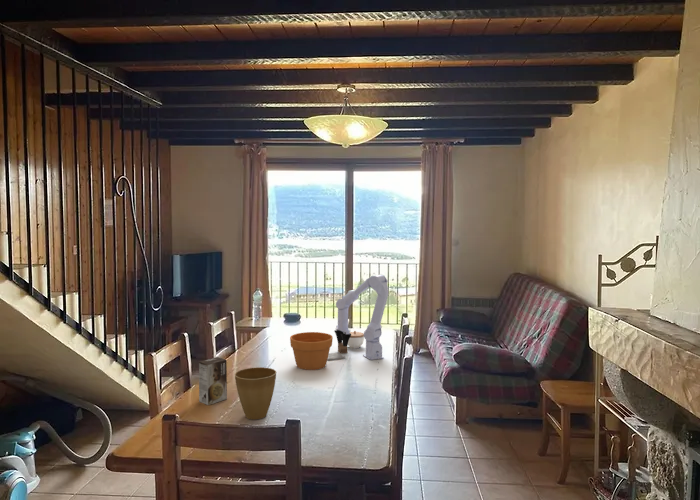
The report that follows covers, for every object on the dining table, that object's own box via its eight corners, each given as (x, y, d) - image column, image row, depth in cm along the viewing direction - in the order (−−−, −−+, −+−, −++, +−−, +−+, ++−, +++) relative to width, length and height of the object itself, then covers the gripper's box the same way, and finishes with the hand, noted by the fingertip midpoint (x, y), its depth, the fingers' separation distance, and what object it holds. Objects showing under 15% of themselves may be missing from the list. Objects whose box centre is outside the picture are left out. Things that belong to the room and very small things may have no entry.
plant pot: (278, 408, 186) (278, 366, 185) (273, 423, 171) (273, 378, 171) (239, 408, 186) (239, 366, 185) (230, 424, 171) (230, 378, 170)
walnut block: (347, 352, 270) (347, 343, 269) (340, 353, 268) (340, 344, 268) (344, 351, 273) (344, 342, 273) (337, 351, 272) (337, 342, 271)
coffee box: (217, 395, 199) (217, 356, 199) (227, 399, 195) (227, 359, 195) (198, 401, 192) (198, 361, 192) (207, 405, 188) (207, 364, 187)
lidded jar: (364, 349, 277) (364, 333, 276) (345, 349, 277) (345, 332, 277) (363, 345, 288) (364, 329, 287) (345, 344, 288) (345, 328, 287)
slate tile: (345, 358, 257) (345, 357, 257) (327, 360, 253) (327, 359, 253) (338, 354, 266) (338, 352, 266) (320, 355, 262) (320, 354, 262)
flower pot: (326, 373, 231) (326, 342, 230) (284, 370, 235) (284, 340, 234) (336, 361, 251) (336, 333, 251) (297, 359, 256) (297, 331, 255)
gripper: (331, 318, 275) (330, 342, 275) (341, 323, 261) (340, 348, 262) (342, 317, 278) (342, 341, 278) (353, 322, 264) (352, 347, 265)
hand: (342, 344), depth 270 cm, fingers open, 7 cm apart
